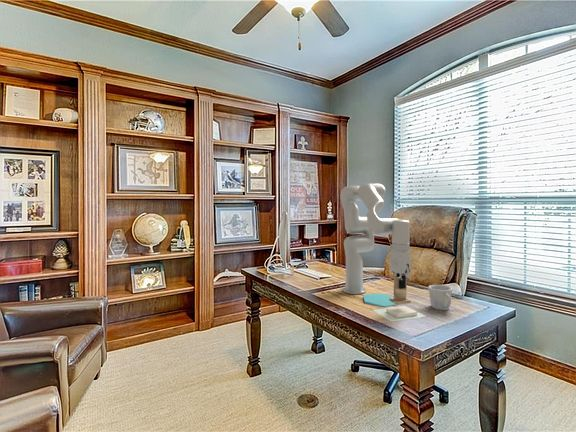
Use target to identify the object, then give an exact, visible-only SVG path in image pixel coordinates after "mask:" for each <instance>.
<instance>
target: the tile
mask: <svg viewBox="0 0 576 432" xmlns="http://www.w3.org/2000/svg"><path fill="white" fill-rule="evenodd" d="M385 308H386V311H387V312H388V313H390V314H392V315H394V316H396V317H397V318H402V317H409V316H415V315H417V312H418V311H417V310H415V309H413V308H410V307H408V306H406V305H400V306H399V305H397V306H390V307H385ZM414 310H415V311H414ZM416 311H417V312H416Z"/></svg>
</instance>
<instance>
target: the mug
mask: <svg viewBox="0 0 576 432" xmlns="http://www.w3.org/2000/svg"><path fill="white" fill-rule="evenodd" d="M452 292H453V288H452V287H451V286H449V285H445V284H431V285H428V294H429V299H430V306H431V308H433V309H435V310H440V311H448V310H449V309H450V307H451V306H452V305H451V304H452V294H453V293H452Z"/></svg>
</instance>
